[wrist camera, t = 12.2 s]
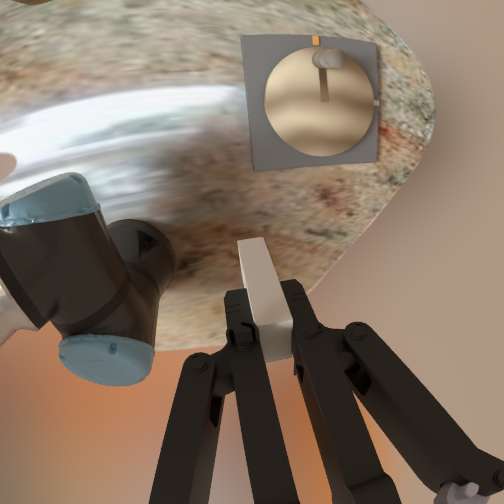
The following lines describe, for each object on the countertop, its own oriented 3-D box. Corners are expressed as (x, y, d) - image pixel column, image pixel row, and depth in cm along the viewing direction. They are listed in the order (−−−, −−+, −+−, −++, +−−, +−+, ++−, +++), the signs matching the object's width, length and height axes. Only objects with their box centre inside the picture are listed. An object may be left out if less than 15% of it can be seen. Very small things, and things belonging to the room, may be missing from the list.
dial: (368, 150, 39) (391, 162, 34) (269, 159, 38) (281, 173, 33) (365, 51, 30) (390, 49, 25) (257, 49, 29) (268, 41, 24)
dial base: (371, 159, 42) (377, 163, 41) (253, 169, 41) (255, 172, 39) (371, 43, 31) (377, 43, 30) (240, 37, 30) (242, 35, 28)
